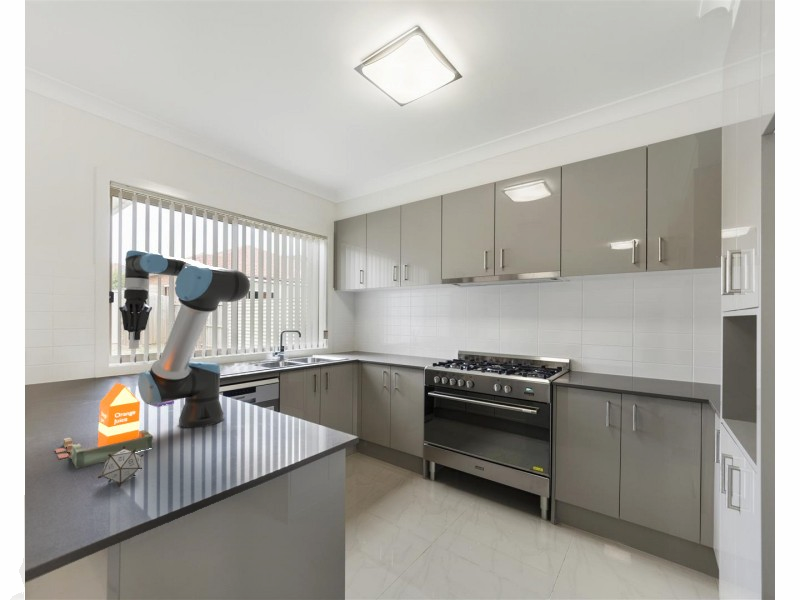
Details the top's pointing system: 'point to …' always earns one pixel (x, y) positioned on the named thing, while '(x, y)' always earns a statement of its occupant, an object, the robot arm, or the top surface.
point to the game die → (121, 465)
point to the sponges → (164, 403)
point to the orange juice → (118, 416)
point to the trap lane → (106, 449)
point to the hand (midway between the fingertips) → (133, 348)
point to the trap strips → (61, 454)
